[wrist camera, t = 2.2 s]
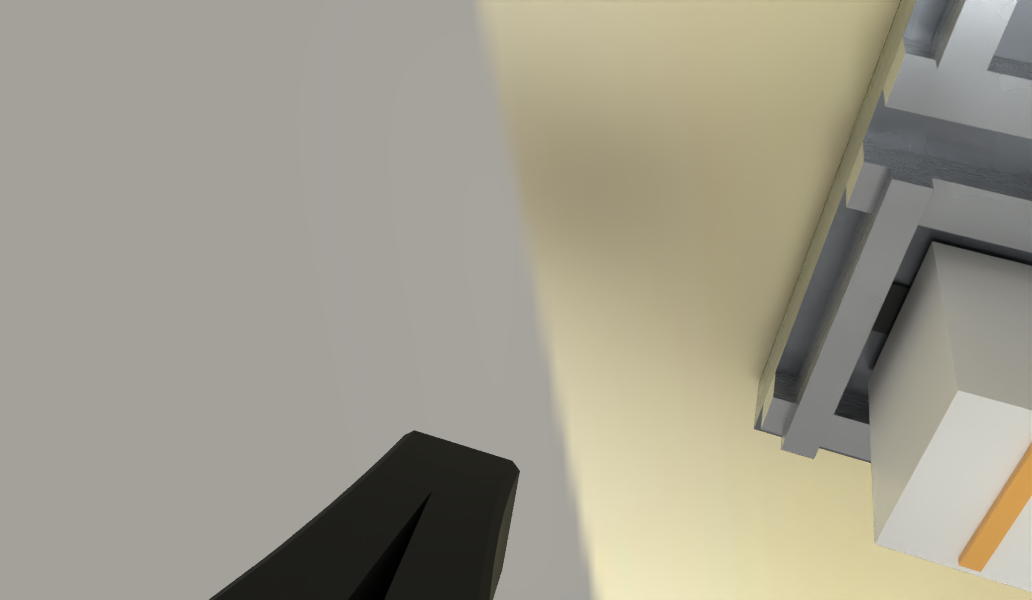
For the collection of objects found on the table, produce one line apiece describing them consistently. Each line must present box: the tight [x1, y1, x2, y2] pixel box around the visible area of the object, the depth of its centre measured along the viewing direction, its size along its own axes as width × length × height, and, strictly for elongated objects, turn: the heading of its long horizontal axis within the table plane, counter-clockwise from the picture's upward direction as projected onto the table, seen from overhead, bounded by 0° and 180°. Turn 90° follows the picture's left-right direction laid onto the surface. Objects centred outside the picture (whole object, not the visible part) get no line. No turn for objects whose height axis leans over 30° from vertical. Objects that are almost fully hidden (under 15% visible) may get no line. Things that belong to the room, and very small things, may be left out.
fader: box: [868, 241, 1032, 592], centre depth 14 cm, size 2×3×4 cm
